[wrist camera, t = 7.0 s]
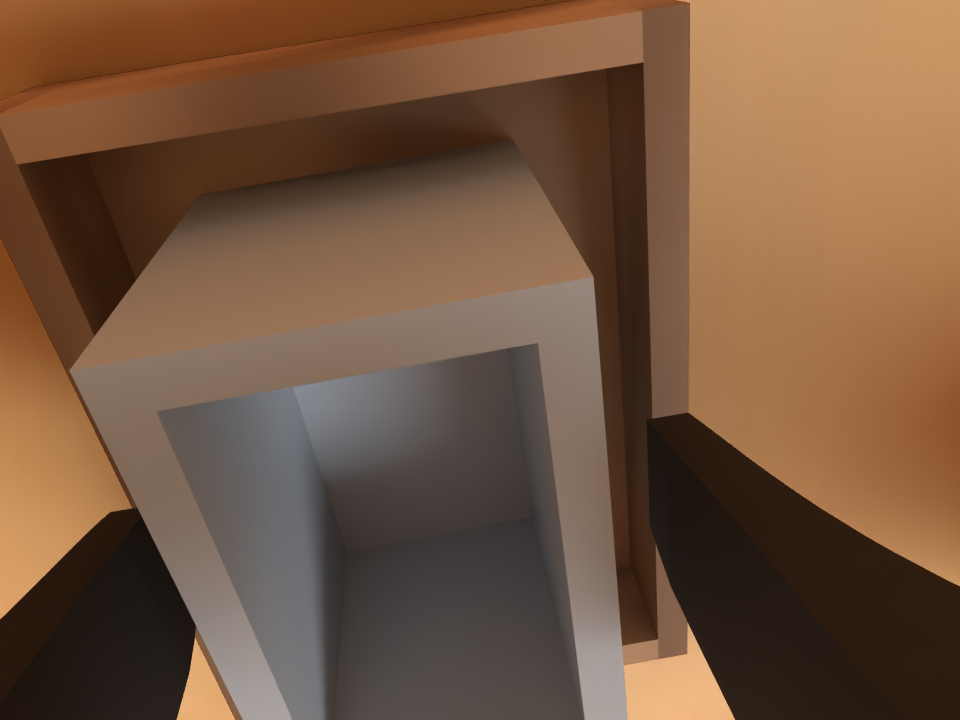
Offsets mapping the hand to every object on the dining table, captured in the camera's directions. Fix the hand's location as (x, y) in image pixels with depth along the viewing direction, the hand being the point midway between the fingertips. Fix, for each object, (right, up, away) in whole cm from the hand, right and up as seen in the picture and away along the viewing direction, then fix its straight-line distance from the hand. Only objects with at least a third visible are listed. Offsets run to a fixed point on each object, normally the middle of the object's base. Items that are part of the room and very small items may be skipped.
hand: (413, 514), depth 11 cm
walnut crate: (0, +2, +3) cm, 4 cm away
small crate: (0, +2, +3) cm, 3 cm away
